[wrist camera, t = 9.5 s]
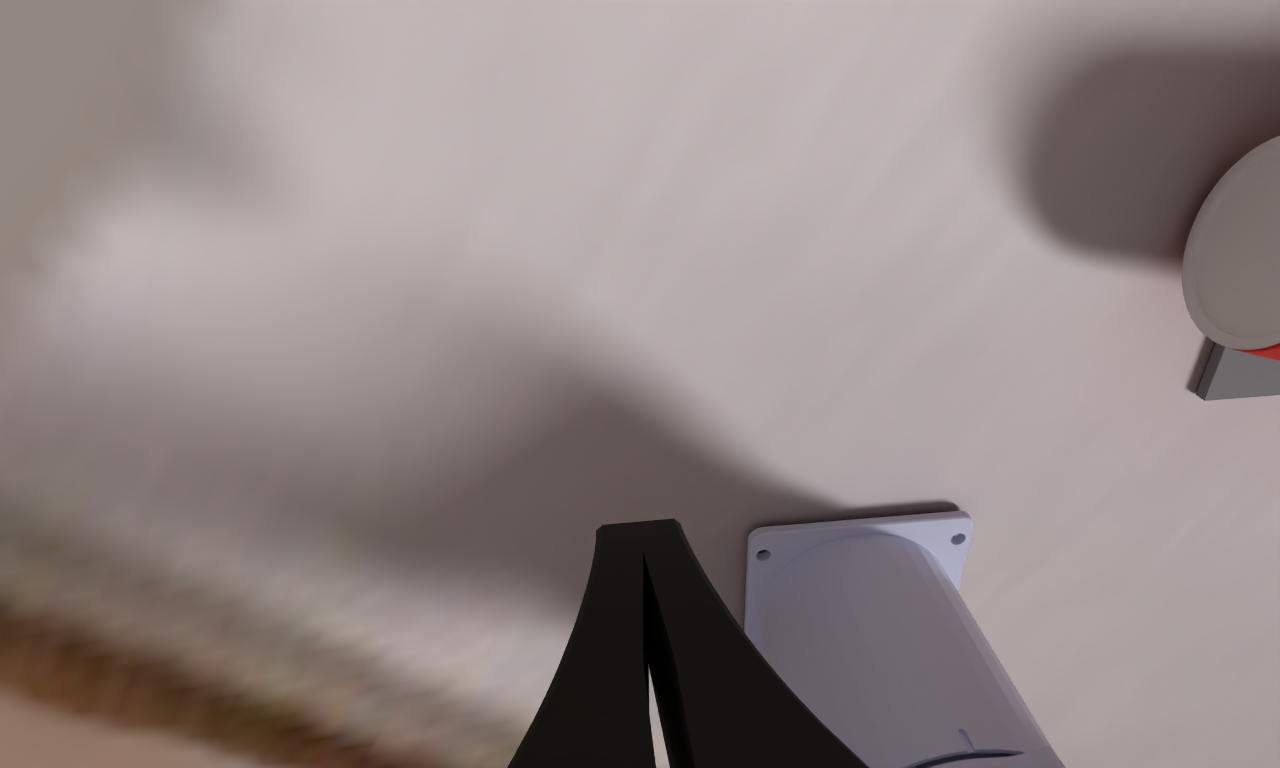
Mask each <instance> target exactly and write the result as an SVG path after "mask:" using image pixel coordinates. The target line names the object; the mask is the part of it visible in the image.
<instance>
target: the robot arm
mask: <svg viewBox="0 0 1280 768" xmlns="http://www.w3.org/2000/svg"><path fill="white" fill-rule="evenodd" d="M973 528H974V522H973V520H972V519H971V517H970V516H969V514H968V513H966V512H964V511H951V512H939V513H927V514H915V515H903V516H890V517H878V518H866V519H854V520H842V521H830V522H817V523H805V524H793V525H781V526H769V527H760V528H757V529H755V530H753V531H752V532H751V533H750V534H749V537H748V549H747V572H746V595H745V618H744V631H743V630H742V628H741V627H740V626H739V624H738V623H737V621H736V620H735V619H734V617H733V616H732V614H731V613H730V611H729V610H728V608H727V607H726V605H725V604H724V602H723V601H722V599H721V598H720V596H719V595H718V593H717V592H716V590H715V589H714V587H713V586H712V584H711V582H710V581H709V579H708V578H707V576H706V574H705V572H704V571H703V569H702V567H701V565H700V564H699V562H698V560H697V558H696V557H695V555H694V553H693V551H692V549H691V547H690V545H689V543H688V541H687V539H686V536H685V534H684V532H683V530H682V527H681V524H680V523H679V522H678V521H676V520H675V519H664V520H653V521H642V522H630V523H619V524H608V525H602V526H601V527H600V528H599V529H598V530H597V531H596V545H595V552H594V558H593V563H592V568H591V572H590V576H589V580H588V584H587V588H586V591H585V594H584V597H583V601H582V604H581V607H580V610H579V613H578V617H577V620H576V623H575V625H574V628H573V631H572V634H571V636H570V639H569V641H568V644H567V646H566V649H565V651H564V654H563V656H562V659H561V662H560V664H559V667H558V669H557V671H556V674H555V676H554V678H553V680H552V683H551V685H550V687H549V689H548V691H547V693H546V696H545V698H544V700H543V702H542V704H541V706H540V708H539V710H538V712H537V714H536V716H535V718H534V720H533V722H532V724H531V726H530V727H529V729H528V731H527V733H526V735H525V737H524V738H523V740H522V742H521V744H520V746H519V748H518V749H517V751H516V753H515V755H514V757H513V759H512V760H511V762H510V764H509V765H508V767H507V768H656V764H655V756H654V748H653V740H652V732H651V724H650V716H649V669H650V673H651V678H652V683H653V688H654V693H655V698H656V703H657V707H658V712H659V717H660V722H661V727H662V731H663V736H664V741H665V746H666V751H667V755H668V760H669V765H670V768H1066V767H1065V766H1064V765H1063V763H1062V762H1061V761H1060V759H1059V758H1058V757H1057V755H1056V753H1055V752H1054V750H1053V748H1052V747H1051V745H1050V743H1049V742H1048V740H1047V738H1046V737H1045V735H1044V733H1043V732H1042V730H1041V729H1040V727H1039V725H1038V724H1037V722H1036V720H1035V719H1034V717H1033V715H1032V714H1031V712H1030V710H1029V709H1028V707H1027V705H1026V704H1025V702H1024V700H1023V699H1022V697H1021V695H1020V694H1019V692H1018V690H1017V689H1016V687H1015V685H1014V684H1013V682H1012V680H1011V679H1010V677H1009V675H1008V674H1007V672H1006V671H1005V669H1004V667H1003V666H1002V664H1001V662H1000V661H999V659H998V657H997V656H996V654H995V652H994V651H993V649H992V647H991V646H990V644H989V642H988V641H987V639H986V637H985V636H984V634H983V632H982V631H981V629H980V627H979V626H978V624H977V622H976V621H975V619H974V617H973V616H972V614H971V612H970V611H969V609H968V608H967V606H966V604H965V603H964V601H963V599H962V598H961V596H960V594H959V593H958V591H959V587H960V583H961V578H962V574H963V570H964V566H965V562H966V557H967V553H968V549H969V545H970V541H971V536H972V532H973ZM956 534H958V535H957V536H955V537H953V536H954V535H956ZM761 550H767V551H766V552H764V553H758V552H759V551H761ZM648 664H649V666H648Z"/></svg>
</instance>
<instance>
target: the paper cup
mask: <svg viewBox="0 0 1280 768" xmlns="http://www.w3.org/2000/svg"><path fill="white" fill-rule="evenodd" d="M1182 287H1183V294H1184V299H1185V303H1186V306H1187V309H1188V312H1189V314H1190V316H1191V318H1192V320H1193V321H1194V323H1195V324H1196V326H1197V327H1198V328H1199V329H1200V331H1201V332H1202V333H1203V334H1204V335H1206V336H1207V337H1208V338H1209V339H1211V340H1212V341H1214V342H1216V343H1218V344H1220V345H1222V346H1225V347H1228V348H1230V349H1234V350H1237V351H1241V352H1245V353H1248V354H1252V355H1256V356H1260V357H1265V358H1269V359H1274V360H1278V361H1280V136H1277V137H1275V138H1273V139H1270V140H1268V141H1266V142H1264V143H1263V144H1261V145H1259V146H1258V147H1256V148H1254V149H1253V150H1251V151H1250V152H1249V153H1247V154H1246V155H1245V156H1243V157H1242V158H1241V159H1240V160H1239V161H1237V162H1236V163H1235V164H1234V165H1233V166H1232V167H1231V168H1230V169H1229V170H1228V171H1227V172H1226V173H1225V174H1224V176H1223V177H1222V178H1221V179H1220V180H1219V181H1218V183H1217V184H1216V185H1215V186H1214V188H1213V189H1212V191H1211V192H1210V193H1209V195H1208V197H1207V198H1206V200H1205V201H1204V203H1203V205H1202V207H1201V208H1200V210H1199V212H1198V214H1197V216H1196V218H1195V221H1194V223H1193V225H1192V228H1191V231H1190V234H1189V236H1188V240H1187V243H1186V248H1185V252H1184V258H1183V265H1182Z"/></svg>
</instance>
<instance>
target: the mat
mask: <svg viewBox="0 0 1280 768" xmlns="http://www.w3.org/2000/svg"><path fill="white" fill-rule="evenodd" d="M1196 395H1197V396H1198V397H1200V398H1201V399H1203V400H1204V401H1206V400H1219V399H1233V398H1246V397H1259V396H1272V395H1280V361H1278V360H1274V359H1269V358H1265V357H1260V356H1256V355H1252V354H1248V353H1245V352H1241V351H1237V350H1234V349H1230V348H1228V347H1225V346H1222V345H1220V344H1218V343H1215V345H1214V348H1213V351H1212V353H1211V356H1210V358H1209V361H1208V364H1207V366H1206V369H1205V371H1204V374H1203V377H1202V379H1201V382H1200V384H1199V387H1198V390H1197V392H1196Z"/></svg>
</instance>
